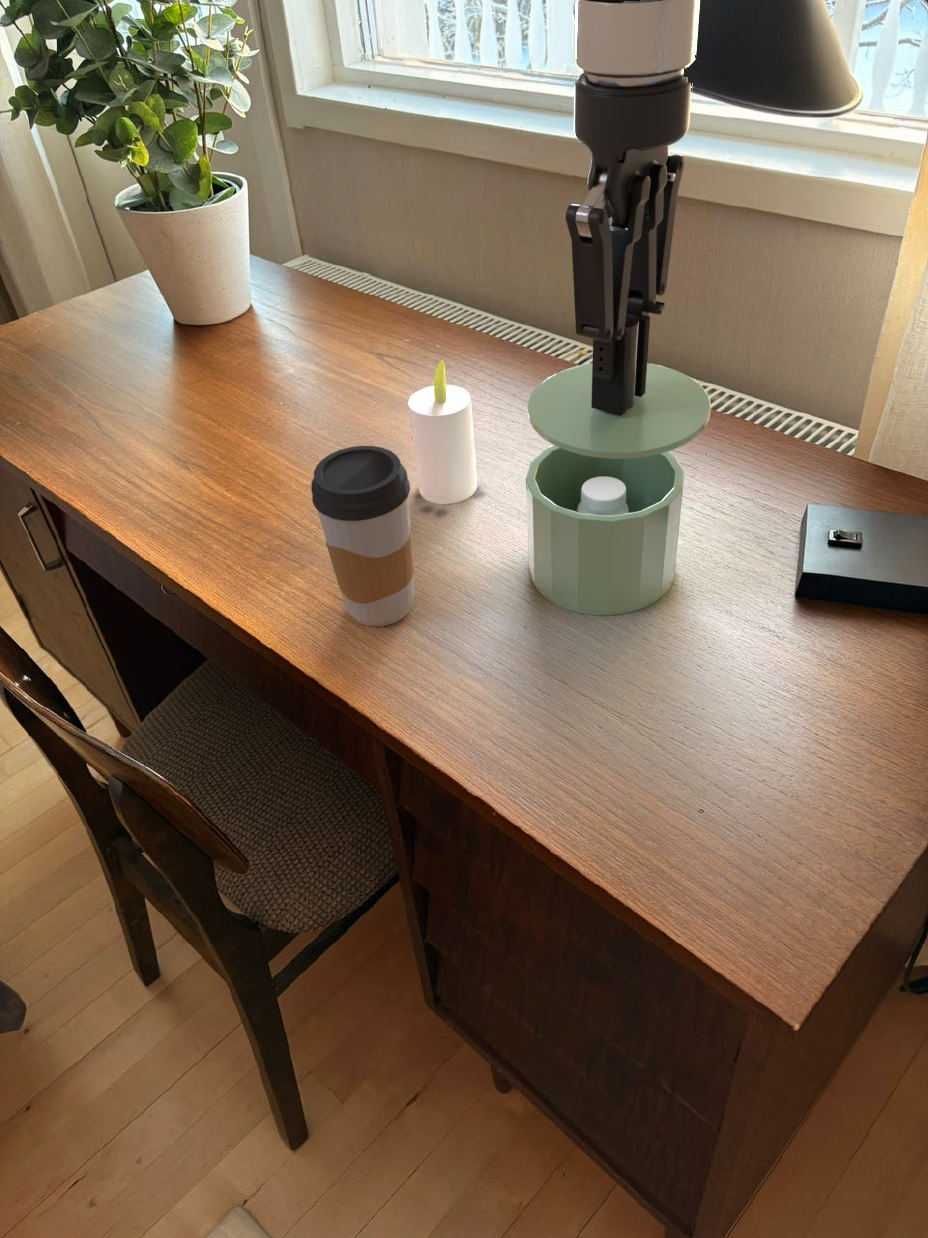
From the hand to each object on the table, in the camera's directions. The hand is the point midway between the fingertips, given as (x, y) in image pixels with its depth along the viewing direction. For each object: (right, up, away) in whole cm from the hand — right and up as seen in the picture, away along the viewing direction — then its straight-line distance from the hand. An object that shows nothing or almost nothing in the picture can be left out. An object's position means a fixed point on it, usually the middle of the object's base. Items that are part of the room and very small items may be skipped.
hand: (618, 399), depth 76 cm
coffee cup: (-20, -17, +12) cm, 29 cm away
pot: (+1, -13, +14) cm, 19 cm away
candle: (-14, -4, +26) cm, 30 cm away
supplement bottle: (+1, -12, +14) cm, 19 cm away
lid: (0, -1, +1) cm, 1 cm away
